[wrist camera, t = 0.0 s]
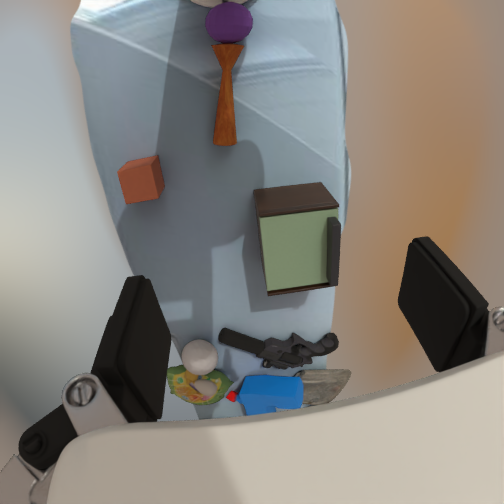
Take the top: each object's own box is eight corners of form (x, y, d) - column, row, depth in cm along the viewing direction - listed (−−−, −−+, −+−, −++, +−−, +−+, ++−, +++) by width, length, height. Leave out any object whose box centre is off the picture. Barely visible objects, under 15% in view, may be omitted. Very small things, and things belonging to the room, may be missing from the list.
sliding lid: (259, 216, 41) (261, 226, 39) (337, 206, 41) (344, 216, 39) (266, 288, 48) (269, 301, 45) (334, 278, 48) (340, 290, 45)
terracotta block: (127, 161, 43) (116, 171, 39) (158, 155, 43) (150, 164, 39) (134, 191, 46) (125, 204, 42) (165, 186, 46) (158, 198, 42)
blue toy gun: (254, 442, 81) (260, 426, 86) (319, 448, 72) (324, 430, 77) (213, 390, 69) (222, 371, 74) (294, 396, 60) (301, 373, 65)
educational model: (156, 360, 68) (196, 377, 78) (151, 393, 63) (192, 406, 73) (202, 357, 62) (240, 375, 72) (198, 395, 57) (238, 407, 67)
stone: (330, 396, 81) (357, 364, 74) (332, 406, 78) (361, 374, 71) (272, 393, 76) (296, 358, 70) (274, 403, 74) (298, 369, 67)
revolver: (342, 333, 66) (302, 371, 72) (247, 294, 58) (210, 343, 64) (346, 342, 64) (305, 381, 70) (248, 305, 56) (210, 354, 62)
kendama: (198, 147, 39) (200, -1, 28) (208, 135, 44) (212, 6, 32) (243, 150, 39) (250, -2, 27) (249, 138, 44) (256, 6, 32)
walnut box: (253, 189, 47) (259, 214, 40) (321, 182, 48) (339, 204, 40) (262, 263, 55) (267, 296, 47) (321, 255, 55) (336, 286, 47)
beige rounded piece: (180, 339, 58) (163, 381, 61) (220, 368, 55) (198, 409, 58) (201, 329, 65) (183, 369, 68) (238, 355, 62) (216, 394, 65)
